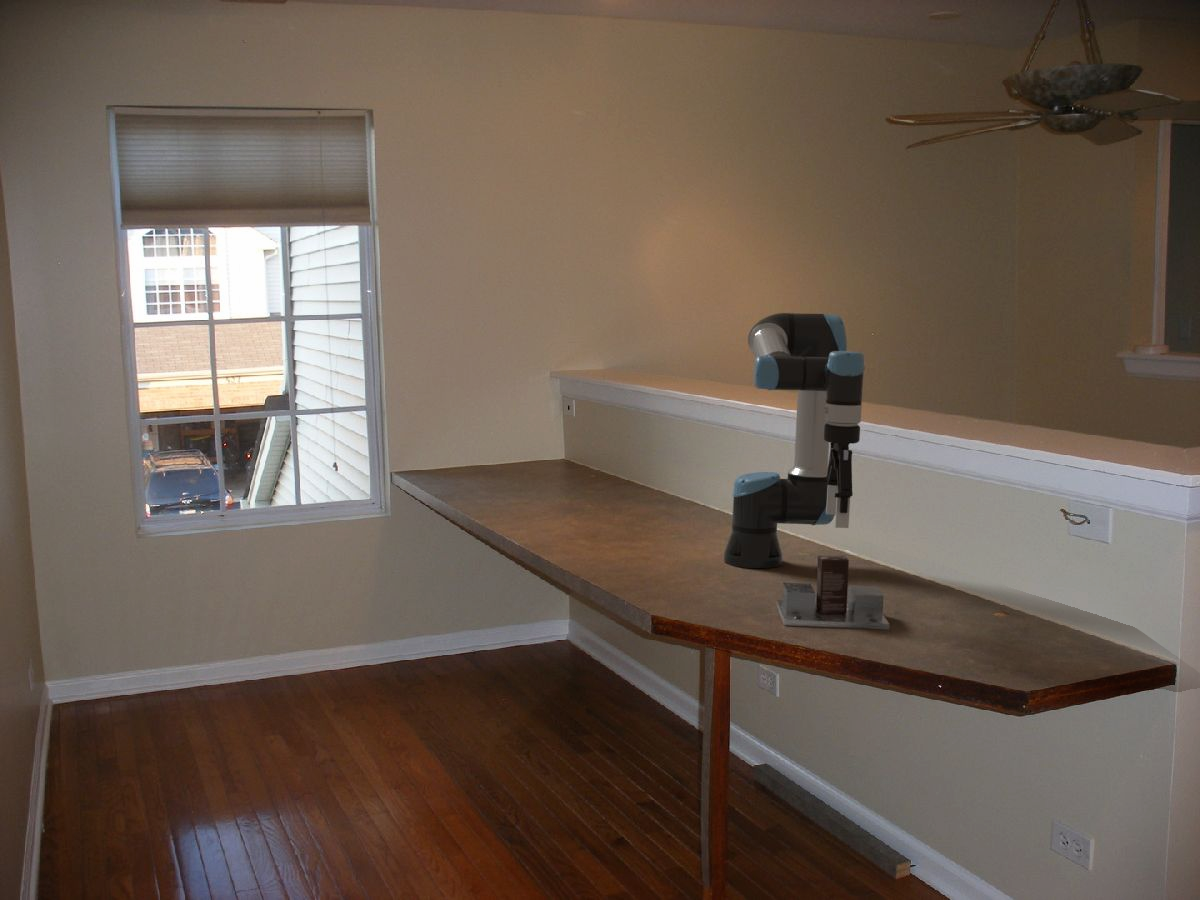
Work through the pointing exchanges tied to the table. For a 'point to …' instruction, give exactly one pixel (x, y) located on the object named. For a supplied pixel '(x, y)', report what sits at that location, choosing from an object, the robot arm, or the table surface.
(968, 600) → the table surface
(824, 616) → the wall mount bracket
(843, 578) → the box
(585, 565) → the table surface
